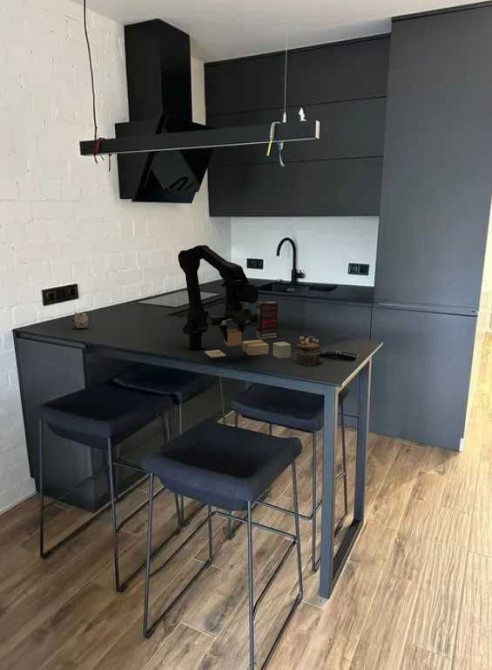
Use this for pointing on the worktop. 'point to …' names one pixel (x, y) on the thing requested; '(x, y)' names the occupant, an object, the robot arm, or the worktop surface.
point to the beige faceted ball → (81, 320)
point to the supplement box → (266, 319)
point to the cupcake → (308, 351)
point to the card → (214, 353)
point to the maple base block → (255, 347)
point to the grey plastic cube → (281, 349)
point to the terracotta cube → (234, 337)
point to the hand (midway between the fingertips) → (232, 341)
